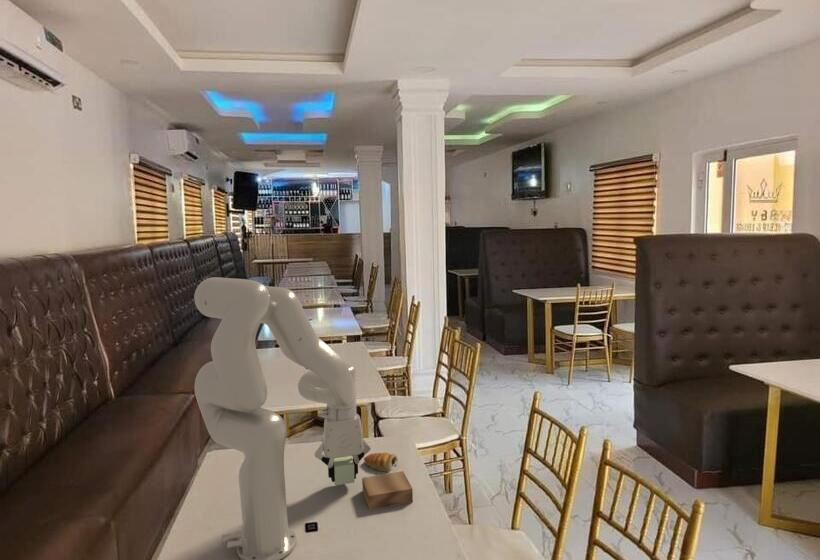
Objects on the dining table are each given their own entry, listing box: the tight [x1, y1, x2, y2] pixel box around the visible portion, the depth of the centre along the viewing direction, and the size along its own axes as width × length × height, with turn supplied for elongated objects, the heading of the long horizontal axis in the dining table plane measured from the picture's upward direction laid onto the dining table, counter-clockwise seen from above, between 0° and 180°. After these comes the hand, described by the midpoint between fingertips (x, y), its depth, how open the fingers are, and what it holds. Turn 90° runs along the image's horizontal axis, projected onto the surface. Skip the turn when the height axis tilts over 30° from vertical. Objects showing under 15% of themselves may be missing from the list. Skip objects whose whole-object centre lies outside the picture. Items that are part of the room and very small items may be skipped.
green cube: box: [333, 456, 355, 486], centre depth 142 cm, size 5×5×5 cm
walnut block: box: [361, 470, 414, 511], centre depth 137 cm, size 11×9×4 cm
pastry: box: [363, 451, 399, 473], centre depth 154 cm, size 9×7×4 cm
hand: (343, 477), depth 142 cm, fingers closed on green cube, 5 cm apart
